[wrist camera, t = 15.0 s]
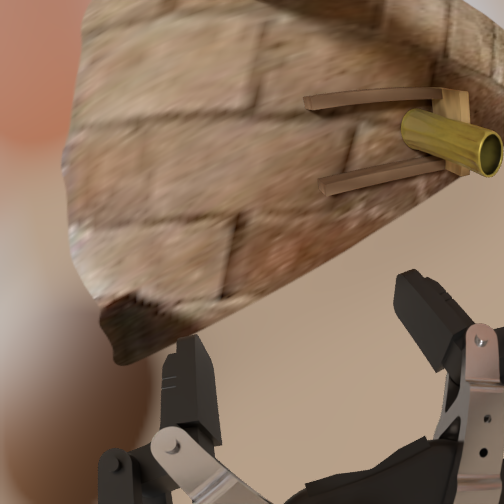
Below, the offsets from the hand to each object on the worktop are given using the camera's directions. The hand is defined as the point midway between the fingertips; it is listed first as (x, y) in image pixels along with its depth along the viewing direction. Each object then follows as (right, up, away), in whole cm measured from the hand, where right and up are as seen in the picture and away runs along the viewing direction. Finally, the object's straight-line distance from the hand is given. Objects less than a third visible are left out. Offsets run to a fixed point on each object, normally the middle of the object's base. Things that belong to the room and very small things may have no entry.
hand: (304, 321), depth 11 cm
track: (+16, +18, +22) cm, 33 cm away
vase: (+21, +20, +23) cm, 37 cm away
